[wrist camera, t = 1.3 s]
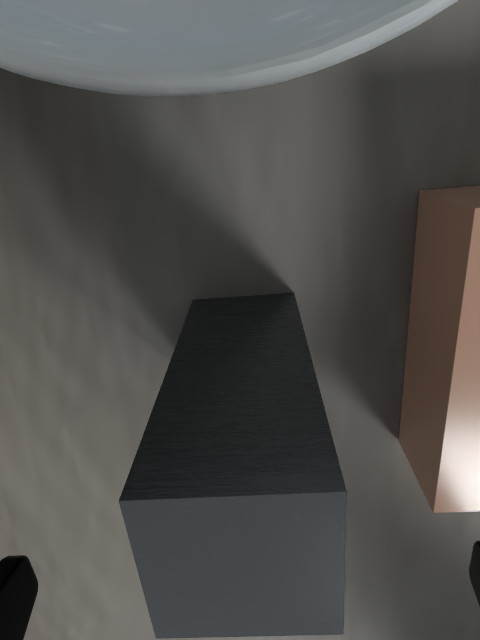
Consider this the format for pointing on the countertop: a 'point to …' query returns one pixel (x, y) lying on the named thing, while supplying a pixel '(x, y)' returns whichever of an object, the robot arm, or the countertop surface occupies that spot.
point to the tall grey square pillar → (239, 482)
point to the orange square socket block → (444, 351)
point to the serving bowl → (194, 41)
